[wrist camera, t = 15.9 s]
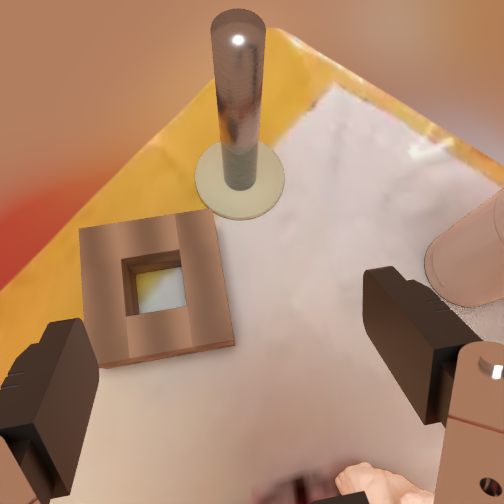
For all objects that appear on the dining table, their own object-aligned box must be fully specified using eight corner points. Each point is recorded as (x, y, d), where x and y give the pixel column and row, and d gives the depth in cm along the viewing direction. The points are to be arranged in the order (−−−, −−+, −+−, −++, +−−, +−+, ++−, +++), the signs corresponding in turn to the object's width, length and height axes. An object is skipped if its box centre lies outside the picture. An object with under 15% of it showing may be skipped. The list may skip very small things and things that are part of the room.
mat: (274, 135, 54) (274, 131, 53) (291, 212, 51) (292, 209, 50) (190, 148, 53) (189, 143, 52) (202, 226, 50) (201, 223, 49)
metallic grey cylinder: (253, 159, 52) (260, 5, 31) (259, 188, 50) (270, 48, 30) (221, 164, 51) (206, 12, 30) (226, 193, 50) (214, 55, 29)
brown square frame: (215, 228, 50) (212, 208, 44) (234, 345, 46) (233, 339, 40) (97, 247, 49) (78, 228, 43) (106, 368, 44) (86, 366, 39)
